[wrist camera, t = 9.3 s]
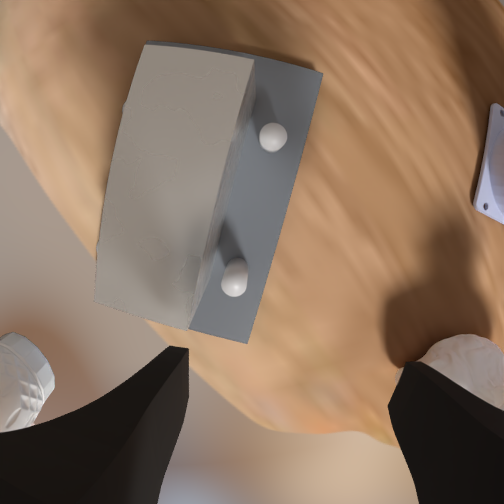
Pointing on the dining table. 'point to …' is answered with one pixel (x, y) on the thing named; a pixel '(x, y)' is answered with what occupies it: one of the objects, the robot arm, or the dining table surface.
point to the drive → (172, 181)
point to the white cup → (22, 382)
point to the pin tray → (256, 194)
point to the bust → (469, 365)
